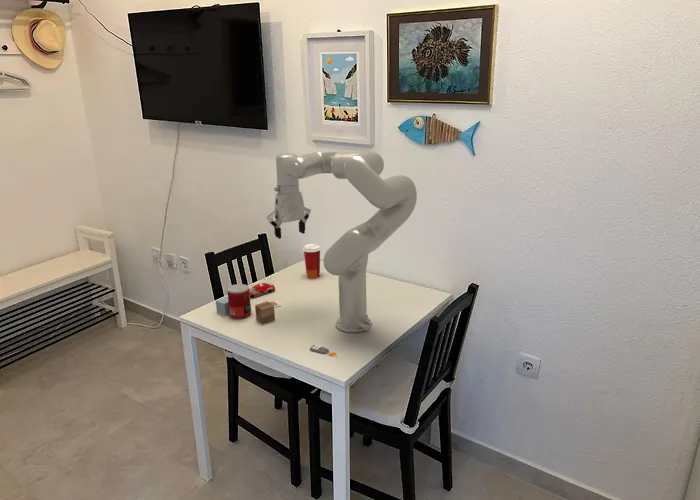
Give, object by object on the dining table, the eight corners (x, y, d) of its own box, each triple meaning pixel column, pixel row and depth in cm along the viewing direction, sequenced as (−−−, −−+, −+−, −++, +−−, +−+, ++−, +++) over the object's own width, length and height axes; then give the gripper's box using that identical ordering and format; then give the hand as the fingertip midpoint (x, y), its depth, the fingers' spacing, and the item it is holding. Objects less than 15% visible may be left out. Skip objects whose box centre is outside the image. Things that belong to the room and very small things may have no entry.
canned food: (249, 319, 197) (246, 291, 194) (227, 319, 197) (224, 292, 194) (253, 310, 205) (250, 283, 201) (232, 310, 205) (229, 283, 201)
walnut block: (275, 320, 196) (273, 305, 194) (263, 324, 193) (261, 309, 191) (268, 315, 200) (267, 301, 198) (256, 319, 197) (254, 304, 195)
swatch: (281, 305, 208) (281, 304, 208) (268, 309, 204) (268, 308, 204) (274, 300, 212) (274, 299, 212) (260, 304, 209) (260, 303, 209)
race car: (247, 300, 214) (246, 291, 212) (241, 296, 218) (240, 287, 217) (277, 292, 221) (276, 283, 219) (271, 288, 225) (270, 279, 224)
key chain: (308, 352, 174) (308, 348, 174) (315, 347, 177) (315, 343, 177) (342, 362, 168) (342, 358, 167) (348, 356, 171) (348, 352, 170)
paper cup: (315, 272, 241) (313, 242, 236) (325, 276, 235) (324, 246, 230) (300, 276, 236) (299, 246, 231) (311, 281, 230) (309, 250, 226)
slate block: (235, 311, 204) (234, 299, 203) (225, 316, 201) (224, 303, 199) (227, 308, 207) (225, 296, 206) (216, 312, 203) (215, 300, 202)
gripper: (271, 194, 181) (273, 242, 187) (314, 187, 191) (316, 233, 196) (261, 190, 187) (264, 236, 193) (304, 183, 196) (305, 228, 202)
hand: (290, 235), depth 195 cm, fingers open, 9 cm apart
